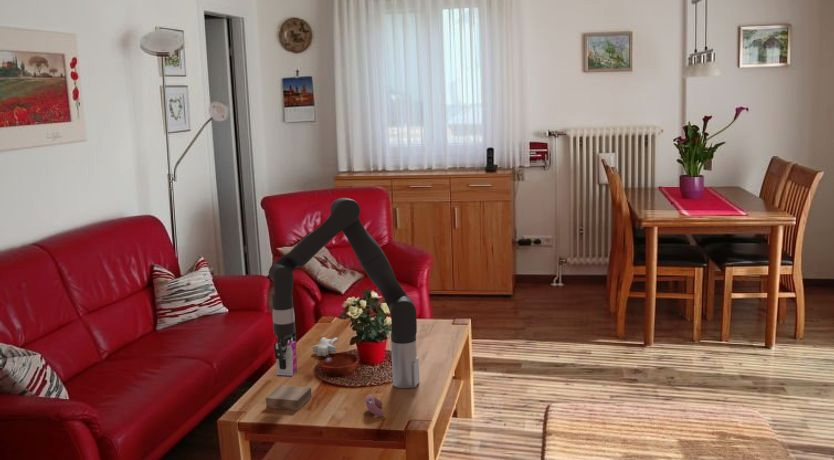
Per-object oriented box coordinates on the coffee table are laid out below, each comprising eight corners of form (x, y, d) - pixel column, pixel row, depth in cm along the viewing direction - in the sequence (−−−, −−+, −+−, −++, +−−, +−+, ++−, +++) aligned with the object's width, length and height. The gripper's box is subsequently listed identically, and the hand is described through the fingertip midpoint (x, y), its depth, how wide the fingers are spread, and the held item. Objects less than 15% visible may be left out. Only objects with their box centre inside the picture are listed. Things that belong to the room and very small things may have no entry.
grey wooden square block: (311, 398, 304) (310, 387, 303) (298, 411, 293) (297, 400, 292) (281, 395, 307) (280, 385, 306) (266, 408, 296) (265, 397, 295)
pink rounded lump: (372, 410, 294) (362, 394, 292) (383, 404, 294) (373, 388, 292) (373, 422, 284) (363, 405, 283) (385, 415, 284) (375, 399, 283)
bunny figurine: (309, 348, 344) (318, 333, 358) (310, 360, 345) (319, 343, 359) (332, 349, 342) (340, 333, 356) (333, 360, 344) (341, 344, 358)
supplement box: (292, 377, 294) (290, 346, 292) (276, 376, 296) (274, 345, 293) (298, 371, 300) (296, 340, 298) (282, 370, 301) (280, 340, 299)
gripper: (285, 327, 286) (288, 373, 289) (302, 314, 300) (304, 359, 303) (264, 325, 288) (268, 372, 292) (282, 313, 302) (285, 358, 305)
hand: (286, 365), depth 297 cm, fingers closed on supplement box, 6 cm apart
